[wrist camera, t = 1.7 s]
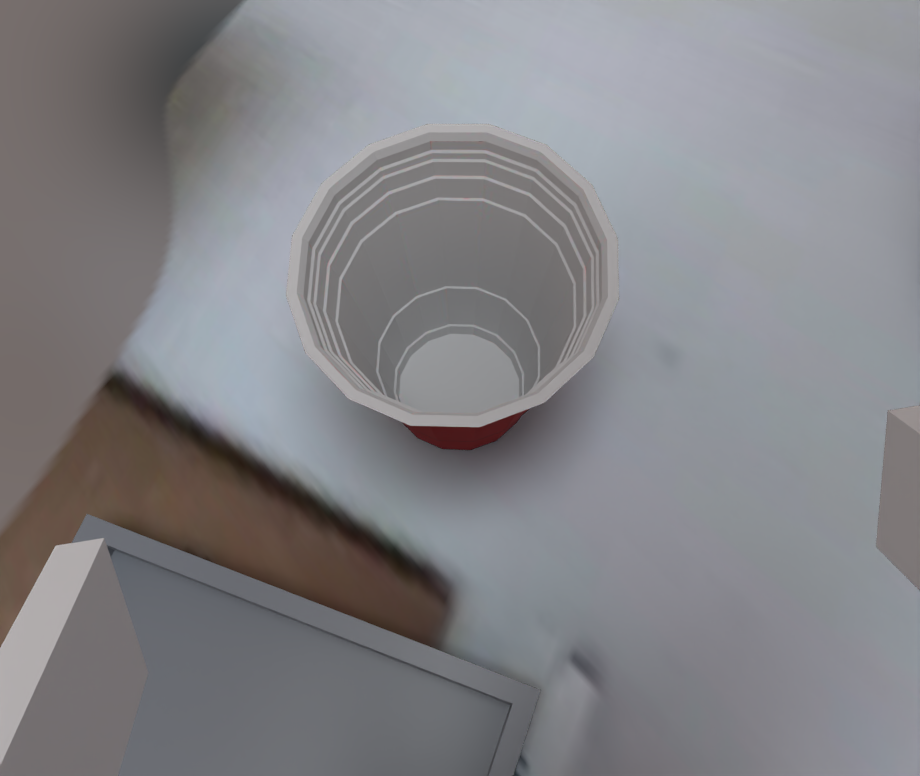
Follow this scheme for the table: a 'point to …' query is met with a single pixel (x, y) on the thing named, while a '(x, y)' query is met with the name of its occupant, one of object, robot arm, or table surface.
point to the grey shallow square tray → (295, 682)
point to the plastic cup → (453, 279)
